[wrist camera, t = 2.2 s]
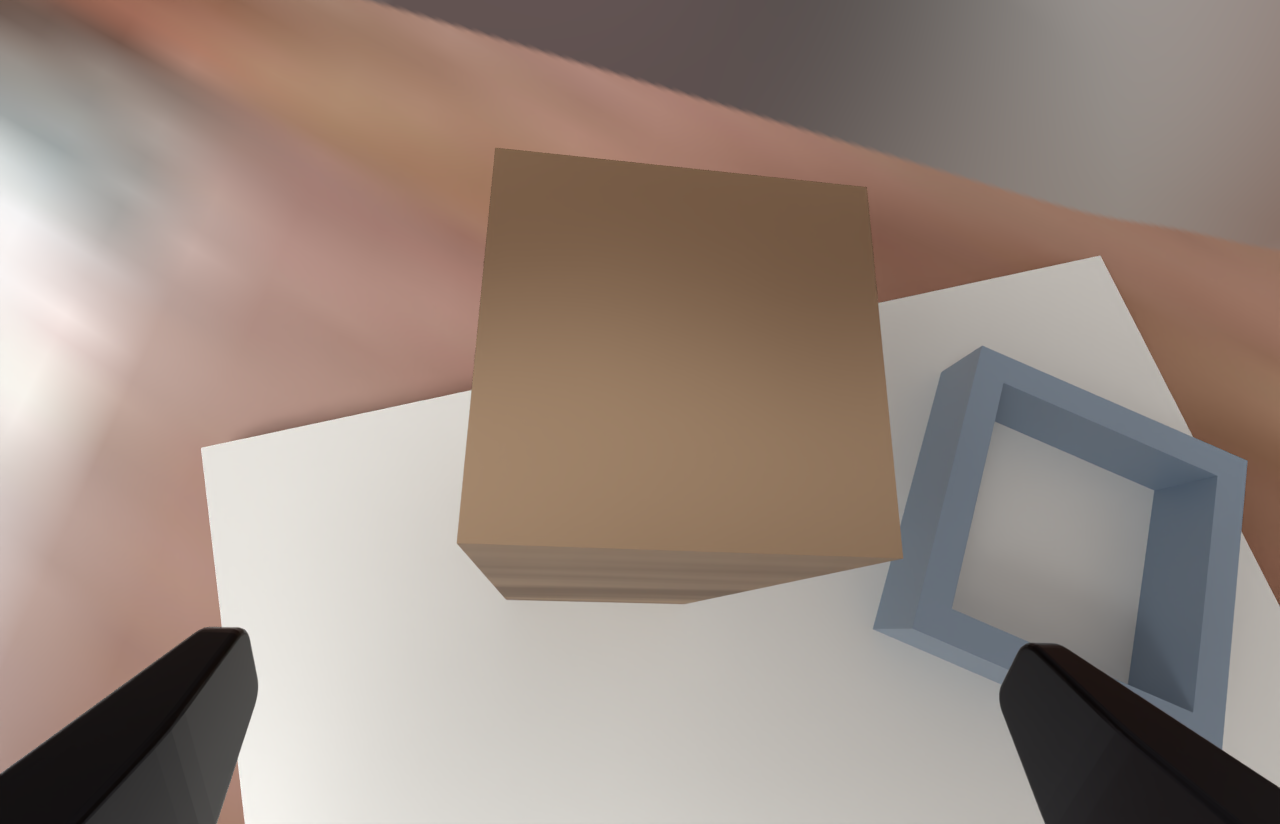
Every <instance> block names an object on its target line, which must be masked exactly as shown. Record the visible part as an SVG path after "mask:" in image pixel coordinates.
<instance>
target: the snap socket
mask: <svg viewBox="0 0 1280 824" xmlns="http://www.w3.org/2000/svg"><path fill="white" fill-rule="evenodd" d="M995 422H997V423H999V424H1002V425H1004V426H1006V427H1009V428H1011V429H1013V430H1016V431H1018V432H1020V433H1023V434H1025V435H1027V436H1029V437H1032V438H1034V439H1036V440H1039V441H1041V442H1043V443H1046V444H1048V445H1050V446H1053V447H1055V448H1057V449H1059V450H1062V451H1064V452H1066V453H1069V454H1071V455H1073V456H1076V457H1078V458H1080V459H1082V460H1085V461H1087V462H1089V463H1092V464H1094V465H1096V466H1099V467H1101V468H1103V469H1106V470H1108V471H1110V472H1112V473H1115V474H1117V475H1119V476H1122V477H1124V478H1126V479H1129V480H1131V481H1133V482H1136V483H1138V484H1140V485H1142V486H1145V487H1147V488H1149V489H1152V490H1154V496H1153V503H1152V511H1151V518H1150V525H1149V533H1148V540H1147V547H1146V555H1145V562H1144V569H1143V577H1142V584H1141V591H1140V599H1139V606H1138V613H1137V621H1136V628H1135V636H1134V643H1133V650H1132V658H1131V665H1130V672H1129V680H1128V684H1125V683H1123V682H1121V681H1118V680H1116V679H1115V680H1116V681H1118V682H1119V683H1121V684H1122V685H1124V686H1125V687H1127V688H1128V689H1130V690H1131V691H1133V692H1134V693H1136V694H1138V695H1139V696H1141V697H1142V698H1144V699H1145V700H1147V701H1148V702H1150V703H1151V704H1153V705H1154V706H1156V707H1157V708H1159V709H1160V710H1162V711H1164V712H1165V713H1167V714H1168V715H1170V716H1171V717H1173V718H1174V719H1176V720H1177V721H1179V722H1180V723H1182V724H1183V725H1185V726H1186V727H1188V728H1189V729H1191V730H1193V731H1194V732H1196V733H1197V734H1199V735H1200V736H1202V737H1203V738H1205V739H1206V740H1208V741H1209V742H1211V743H1212V744H1214V745H1215V746H1217V747H1219V748H1220V749H1222V746H1223V734H1224V723H1225V711H1226V700H1227V689H1228V677H1229V666H1230V654H1231V643H1232V632H1233V620H1234V609H1235V598H1236V586H1237V575H1238V563H1239V552H1240V541H1241V529H1242V518H1243V507H1244V495H1245V484H1246V472H1247V460H1244V459H1242V458H1240V457H1238V456H1235V455H1233V454H1231V453H1228V452H1226V451H1224V450H1221V449H1219V448H1217V447H1215V446H1212V445H1210V444H1208V443H1205V442H1203V441H1201V440H1198V439H1196V438H1194V437H1192V436H1189V435H1187V434H1185V433H1182V432H1180V431H1178V430H1175V429H1173V428H1171V427H1169V426H1166V425H1164V424H1162V423H1159V422H1157V421H1155V420H1152V419H1150V418H1148V417H1146V416H1143V415H1141V414H1139V413H1136V412H1134V411H1132V410H1129V409H1127V408H1125V407H1123V406H1120V405H1118V404H1116V403H1113V402H1111V401H1109V400H1106V399H1104V398H1102V397H1100V396H1097V395H1095V394H1093V393H1090V392H1088V391H1086V390H1083V389H1081V388H1079V387H1077V386H1074V385H1072V384H1070V383H1067V382H1065V381H1063V380H1060V379H1058V378H1056V377H1053V376H1051V375H1049V374H1047V373H1044V372H1042V371H1040V370H1037V369H1035V368H1033V367H1030V366H1028V365H1026V364H1024V363H1021V362H1019V361H1017V360H1014V359H1012V358H1010V357H1007V356H1005V355H1003V354H1001V353H998V352H996V351H994V350H991V349H989V348H987V347H984V346H981V347H979V348H978V349H976V350H975V351H973V352H971V353H970V354H968V355H967V356H965V357H964V358H962V359H961V360H959V361H958V362H956V363H955V364H953V365H951V366H950V367H948V368H947V369H945V370H944V371H942V372H941V375H940V378H939V382H938V386H937V390H936V393H935V397H934V401H933V405H932V408H931V412H930V416H929V420H928V423H927V427H926V431H925V435H924V438H923V442H922V446H921V450H920V453H919V457H918V461H917V465H916V468H915V472H914V476H913V480H912V483H911V487H910V491H909V495H908V498H907V502H906V506H905V510H904V513H903V517H902V521H901V525H900V530H901V541H902V551H903V559H899V560H894V561H891V562H890V566H889V570H888V574H887V577H886V581H885V585H884V589H883V592H882V596H881V600H880V604H879V607H878V611H877V615H876V619H875V622H874V626H873V630H876V631H878V632H880V633H883V634H885V635H887V636H890V637H892V638H894V639H897V640H899V641H901V642H904V643H906V644H908V645H911V646H913V647H915V648H918V649H920V650H922V651H925V652H927V653H929V654H932V655H934V656H936V657H939V658H941V659H943V660H946V661H948V662H950V663H952V664H955V665H957V666H959V667H962V668H964V669H966V670H969V671H971V672H973V673H976V674H978V675H980V676H983V677H985V678H987V679H990V680H992V681H994V682H997V683H999V684H1002V682H1003V680H1004V678H1005V676H1006V674H1007V672H1008V670H1009V668H1010V666H1011V664H1012V662H1013V660H1014V658H1015V656H1016V654H1017V652H1018V650H1019V649H1020V648H1021V647H1022V646H1023V645H1025V644H1026V643H1030V642H1028V641H1026V640H1023V639H1021V638H1019V637H1016V636H1014V635H1012V634H1009V633H1007V632H1005V631H1002V630H1000V629H998V628H995V627H993V626H991V625H988V624H986V623H984V622H981V621H979V620H977V619H974V618H972V617H970V616H967V615H965V614H963V613H961V612H958V611H956V610H954V609H952V606H953V601H954V597H955V593H956V588H957V584H958V580H959V575H960V571H961V567H962V562H963V558H964V553H965V549H966V545H967V540H968V536H969V532H970V527H971V523H972V519H973V514H974V510H975V506H976V501H977V497H978V492H979V488H980V484H981V479H982V475H983V471H984V466H985V462H986V458H987V453H988V449H989V445H990V440H991V436H992V431H993V427H994V423H995ZM1113 679H1114V678H1113Z"/></svg>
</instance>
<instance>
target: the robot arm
mask: <svg viewBox="0 0 1280 824" xmlns="http://www.w3.org/2000/svg"><path fill="white" fill-rule="evenodd" d="M257 695H258V677H257V672H256V667H255V662H254V657H253V652H252V647H251V642H250V637H249V635H248V633H247V631H246V630H245V629H243V628H240V627H206V628H203V629H200V630H198V631H197V632H195V633H194V634H192V635H191V636H190V637H188V638H187V639H185V640H184V641H183V642H181V643H180V644H179V645H177V646H176V647H174V648H173V649H172V650H170V651H169V652H167V653H166V654H165V655H163V656H162V657H161V658H159V659H158V660H156V661H155V662H154V663H152V664H151V665H150V666H148V667H147V668H145V669H144V670H143V671H141V672H140V673H139V674H137V675H136V676H134V677H133V678H132V679H130V680H129V681H128V682H126V683H125V684H123V685H122V686H121V687H119V688H118V689H116V690H115V691H114V692H112V693H111V694H110V695H108V696H107V697H105V698H104V699H103V700H101V701H100V702H99V703H97V704H96V705H94V706H93V707H92V708H90V709H89V710H88V711H86V712H85V713H83V714H82V715H81V716H79V717H78V718H76V719H75V720H74V721H72V722H71V723H70V724H68V725H67V726H65V727H64V728H63V729H61V730H60V731H59V732H57V733H56V734H54V735H53V736H52V737H50V738H49V739H48V740H46V741H45V742H43V743H42V744H41V745H39V746H38V747H37V748H35V749H34V750H32V751H31V752H30V753H28V754H27V755H25V756H24V757H23V758H21V759H20V760H19V761H17V762H16V763H14V764H13V765H12V766H10V767H9V768H8V769H6V770H5V771H3V772H2V773H1V774H0V824H217V821H218V818H219V815H220V812H221V809H222V806H223V803H224V800H225V796H226V793H227V790H228V787H229V784H230V781H231V778H232V775H233V772H234V769H235V766H236V763H237V760H238V757H239V753H240V750H241V747H242V744H243V741H244V738H245V735H246V732H247V729H248V726H249V723H250V720H251V717H252V713H253V710H254V707H255V704H256V700H257ZM999 702H1000V708H1001V711H1002V714H1003V716H1004V719H1005V721H1006V724H1007V727H1008V729H1009V732H1010V735H1011V737H1012V740H1013V742H1014V745H1015V748H1016V750H1017V753H1018V755H1019V758H1020V761H1021V763H1022V766H1023V769H1024V771H1025V774H1026V776H1027V779H1028V782H1029V784H1030V787H1031V789H1032V792H1033V795H1034V797H1035V800H1036V803H1037V805H1038V808H1039V810H1040V813H1041V816H1042V818H1043V820H1044V823H1045V824H1280V787H1278V786H1277V785H1275V784H1274V783H1272V782H1271V781H1269V780H1267V779H1266V778H1264V777H1263V776H1261V775H1260V774H1258V773H1257V772H1255V771H1254V770H1252V769H1251V768H1249V767H1248V766H1246V765H1245V764H1243V763H1241V762H1240V761H1238V760H1237V759H1235V758H1234V757H1232V756H1231V755H1229V754H1228V753H1226V752H1225V751H1223V750H1222V749H1220V748H1219V747H1217V746H1215V745H1214V744H1212V743H1211V742H1209V741H1208V740H1206V739H1205V738H1203V737H1202V736H1200V735H1199V734H1197V733H1196V732H1194V731H1193V730H1191V729H1189V728H1188V727H1186V726H1185V725H1183V724H1182V723H1180V722H1179V721H1177V720H1176V719H1174V718H1173V717H1171V716H1170V715H1168V714H1167V713H1165V712H1164V711H1162V710H1160V709H1159V708H1157V707H1156V706H1154V705H1153V704H1151V703H1150V702H1148V701H1147V700H1145V699H1144V698H1142V697H1141V696H1139V695H1138V694H1136V693H1134V692H1133V691H1131V690H1130V689H1128V688H1127V687H1125V686H1124V685H1122V684H1121V683H1119V682H1118V681H1116V680H1115V679H1113V678H1112V677H1110V676H1108V675H1107V674H1105V673H1104V672H1102V671H1101V670H1099V669H1098V668H1096V667H1095V666H1093V665H1092V664H1090V663H1089V662H1087V661H1086V660H1084V659H1083V658H1081V657H1079V656H1078V655H1076V654H1075V653H1073V652H1072V651H1070V650H1069V649H1067V648H1066V647H1064V646H1062V645H1059V644H1055V643H1026V644H1025V645H1023V646H1022V647H1021V648H1020V649H1019V650H1018V652H1017V654H1016V656H1015V658H1014V660H1013V662H1012V664H1011V666H1010V668H1009V670H1008V672H1007V674H1006V676H1005V678H1004V680H1003V682H1002V684H1001V687H1000V691H999Z"/></svg>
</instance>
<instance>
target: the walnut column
mask: <svg viewBox="0 0 1280 824" xmlns="http://www.w3.org/2000/svg"><path fill="white" fill-rule="evenodd" d="M457 544H458V545H459V547H460V548H461V549H462V550H463V551H464V552H465V553H466V555H467V556H468V557H469V558H470V559H471V560H472V561H473V563H474V564H475V565H476V566H477V567H478V568H479V569H480V571H481V572H482V573H483V574H484V575H485V576H486V577H487V579H488V580H489V581H490V582H491V583H492V584H493V585H494V587H495V588H496V589H497V590H498V591H499V592H500V593H501V594H502V596H503V597H504V598H505V599H506V600H531V601H572V602H614V603H655V604H688V603H693V602H698V601H702V600H707V599H712V598H717V597H721V596H726V595H731V594H736V593H741V592H745V591H750V590H755V589H760V588H765V587H769V586H774V585H779V584H784V583H788V582H793V581H798V580H803V579H808V578H812V577H817V576H822V575H827V574H832V573H836V572H841V571H846V570H851V569H855V568H860V567H865V566H870V565H875V564H879V563H884V562H889V561H894V560H899V559H903V551H902V541H901V530H900V520H899V510H898V500H897V490H896V480H895V469H894V459H893V449H892V439H891V429H890V419H889V409H888V398H887V388H886V378H885V368H884V358H883V348H882V337H881V327H880V317H879V307H878V297H877V287H876V276H875V266H874V256H873V246H872V236H871V226H870V215H869V205H868V195H867V187H860V186H851V185H841V184H832V183H822V182H813V181H804V180H794V179H785V178H775V177H766V176H757V175H747V174H738V173H728V172H719V171H709V170H700V169H691V168H681V167H672V166H662V165H653V164H644V163H634V162H625V161H615V160H606V159H597V158H587V157H578V156H568V155H559V154H550V153H540V152H531V151H521V150H512V149H503V148H495V155H494V166H493V176H492V186H491V196H490V207H489V217H488V227H487V237H486V247H485V258H484V268H483V278H482V288H481V299H480V309H479V319H478V329H477V339H476V350H475V360H474V370H473V380H472V391H471V401H470V411H469V421H468V431H467V442H466V452H465V462H464V472H463V483H462V493H461V503H460V513H459V523H458V534H457Z"/></svg>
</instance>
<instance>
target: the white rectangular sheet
mask: <svg viewBox="0 0 1280 824" xmlns="http://www.w3.org/2000/svg"><path fill="white" fill-rule="evenodd" d="M878 307H879V317H880V327H881V337H882V348H883V358H884V368H885V378H886V388H887V398H888V409H889V419H890V429H891V439H892V449H893V459H894V469H895V480H896V490H897V500H898V510H899V520H900V525H901V521H902V517H903V513H904V510H905V506H906V502H907V498H908V495H909V491H910V487H911V483H912V480H913V476H914V472H915V468H916V465H917V461H918V457H919V453H920V450H921V446H922V442H923V438H924V435H925V431H926V427H927V423H928V420H929V416H930V412H931V408H932V405H933V401H934V397H935V393H936V390H937V386H938V382H939V378H940V375H941V372H942V371H944V370H945V369H947V368H948V367H950V366H951V365H953V364H955V363H956V362H958V361H959V360H961V359H962V358H964V357H965V356H967V355H968V354H970V353H971V352H973V351H975V350H976V349H978V348H979V347H981V346H984V347H987V348H989V349H991V350H994V351H996V352H998V353H1001V354H1003V355H1005V356H1007V357H1010V358H1012V359H1014V360H1017V361H1019V362H1021V363H1024V364H1026V365H1028V366H1030V367H1033V368H1035V369H1037V370H1040V371H1042V372H1044V373H1047V374H1049V375H1051V376H1053V377H1056V378H1058V379H1060V380H1063V381H1065V382H1067V383H1070V384H1072V385H1074V386H1077V387H1079V388H1081V389H1083V390H1086V391H1088V392H1090V393H1093V394H1095V395H1097V396H1100V397H1102V398H1104V399H1106V400H1109V401H1111V402H1113V403H1116V404H1118V405H1120V406H1123V407H1125V408H1127V409H1129V410H1132V411H1134V412H1136V413H1139V414H1141V415H1143V416H1146V417H1148V418H1150V419H1152V420H1155V421H1157V422H1159V423H1162V424H1164V425H1166V426H1169V427H1171V428H1173V429H1175V430H1178V431H1180V432H1182V433H1185V434H1187V435H1189V436H1192V434H1191V432H1190V430H1189V428H1188V426H1187V424H1186V422H1185V420H1184V418H1183V416H1182V414H1181V412H1180V411H1179V409H1178V407H1177V405H1176V403H1175V401H1174V399H1173V397H1172V395H1171V393H1170V391H1169V389H1168V387H1167V385H1166V383H1165V381H1164V379H1163V377H1162V375H1161V373H1160V371H1159V369H1158V368H1157V366H1156V364H1155V362H1154V360H1153V358H1152V356H1151V354H1150V352H1149V350H1148V348H1147V346H1146V344H1145V342H1144V340H1143V338H1142V336H1141V334H1140V332H1139V330H1138V328H1137V326H1136V324H1135V323H1134V321H1133V319H1132V317H1131V315H1130V313H1129V311H1128V309H1127V307H1126V305H1125V303H1124V301H1123V299H1122V297H1121V295H1120V293H1119V291H1118V289H1117V287H1116V285H1115V283H1114V281H1113V279H1112V278H1111V276H1110V274H1109V272H1108V270H1107V268H1106V266H1105V264H1104V262H1103V260H1102V258H1101V256H1096V257H1091V258H1087V259H1082V260H1077V261H1073V262H1068V263H1063V264H1059V265H1054V266H1049V267H1045V268H1040V269H1035V270H1031V271H1026V272H1021V273H1017V274H1012V275H1007V276H1003V277H998V278H993V279H989V280H984V281H979V282H975V283H970V284H965V285H961V286H956V287H951V288H947V289H942V290H937V291H932V292H928V293H923V294H918V295H914V296H909V297H904V298H900V299H895V300H890V301H886V302H881V303H878ZM471 391H472V390H470V391H465V392H460V393H456V394H451V395H446V396H442V397H437V398H432V399H428V400H423V401H418V402H414V403H409V404H404V405H400V406H395V407H390V408H385V409H381V410H376V411H371V412H367V413H362V414H357V415H353V416H348V417H343V418H339V419H334V420H329V421H325V422H320V423H315V424H311V425H306V426H301V427H297V428H292V429H287V430H283V431H278V432H273V433H269V434H264V435H259V436H255V437H250V438H245V439H241V440H236V441H231V442H227V443H222V444H217V445H212V446H208V447H203V448H201V452H202V460H203V469H204V477H205V486H206V494H207V503H208V512H209V520H210V529H211V537H212V546H213V554H214V563H215V571H216V580H217V588H218V597H219V606H220V614H221V623H222V627H240V628H243V629H245V630H246V631H247V633H248V635H249V637H250V642H251V647H252V652H253V657H254V662H255V667H256V672H257V677H258V695H257V700H256V704H255V707H254V710H253V713H252V717H251V720H250V723H249V726H248V729H247V732H246V735H245V738H244V741H243V744H242V747H241V750H240V753H239V757H238V768H239V777H240V785H241V794H242V802H243V811H244V819H245V824H1045V823H1044V820H1043V818H1042V816H1041V813H1040V810H1039V808H1038V805H1037V803H1036V800H1035V797H1034V795H1033V792H1032V789H1031V787H1030V784H1029V782H1028V779H1027V776H1026V774H1025V771H1024V769H1023V766H1022V763H1021V761H1020V758H1019V755H1018V753H1017V750H1016V748H1015V745H1014V742H1013V740H1012V737H1011V735H1010V732H1009V729H1008V727H1007V724H1006V721H1005V719H1004V716H1003V714H1002V711H1001V708H1000V702H999V691H1000V687H1001V684H999V683H997V682H994V681H992V680H990V679H987V678H985V677H983V676H980V675H978V674H976V673H973V672H971V671H969V670H966V669H964V668H962V667H959V666H957V665H955V664H952V663H950V662H948V661H946V660H943V659H941V658H939V657H936V656H934V655H932V654H929V653H927V652H925V651H922V650H920V649H918V648H915V647H913V646H911V645H908V644H906V643H904V642H901V641H899V640H897V639H894V638H892V637H890V636H887V635H885V634H883V633H880V632H878V631H876V630H873V626H874V622H875V619H876V615H877V611H878V607H879V604H880V600H881V596H882V592H883V589H884V585H885V581H886V577H887V574H888V570H889V566H890V562H891V561H889V562H884V563H879V564H875V565H870V566H865V567H860V568H855V569H851V570H846V571H841V572H836V573H832V574H827V575H822V576H817V577H812V578H808V579H803V580H798V581H793V582H788V583H784V584H779V585H774V586H769V587H765V588H760V589H755V590H750V591H745V592H741V593H736V594H731V595H726V596H721V597H717V598H712V599H707V600H702V601H698V602H693V603H688V604H655V603H614V602H572V601H531V600H506V599H505V598H504V597H503V596H502V594H501V593H500V592H499V591H498V590H497V589H496V588H495V587H494V585H493V584H492V583H491V582H490V581H489V580H488V579H487V577H486V576H485V575H484V574H483V573H482V572H481V571H480V569H479V568H478V567H477V566H476V565H475V564H474V563H473V561H472V560H471V559H470V558H469V557H468V556H467V555H466V553H465V552H464V551H463V550H462V549H461V548H460V547H459V545H458V544H457V534H458V523H459V513H460V503H461V493H462V483H463V472H464V462H465V452H466V442H467V431H468V421H469V411H470V401H471ZM1192 437H1193V436H1192ZM1153 496H1154V490H1152V489H1149V488H1147V487H1145V486H1142V485H1140V484H1138V483H1136V482H1133V481H1131V480H1129V479H1126V478H1124V477H1122V476H1119V475H1117V474H1115V473H1112V472H1110V471H1108V470H1106V469H1103V468H1101V467H1099V466H1096V465H1094V464H1092V463H1089V462H1087V461H1085V460H1082V459H1080V458H1078V457H1076V456H1073V455H1071V454H1069V453H1066V452H1064V451H1062V450H1059V449H1057V448H1055V447H1053V446H1050V445H1048V444H1046V443H1043V442H1041V441H1039V440H1036V439H1034V438H1032V437H1029V436H1027V435H1025V434H1023V433H1020V432H1018V431H1016V430H1013V429H1011V428H1009V427H1006V426H1004V425H1002V424H999V423H997V422H995V423H994V427H993V431H992V436H991V440H990V445H989V449H988V453H987V458H986V462H985V466H984V471H983V475H982V479H981V484H980V488H979V492H978V497H977V501H976V506H975V510H974V514H973V519H972V523H971V527H970V532H969V536H968V540H967V545H966V549H965V553H964V558H963V562H962V567H961V571H960V575H959V580H958V584H957V588H956V593H955V597H954V601H953V606H952V609H954V610H956V611H958V612H961V613H963V614H965V615H967V616H970V617H972V618H974V619H977V620H979V621H981V622H984V623H986V624H988V625H991V626H993V627H995V628H998V629H1000V630H1002V631H1005V632H1007V633H1009V634H1012V635H1014V636H1016V637H1019V638H1021V639H1023V640H1026V641H1028V642H1030V643H1055V644H1059V645H1062V646H1064V647H1066V648H1067V649H1069V650H1070V651H1072V652H1073V653H1075V654H1076V655H1078V656H1079V657H1081V658H1083V659H1084V660H1086V661H1087V662H1089V663H1090V664H1092V665H1093V666H1095V667H1096V668H1098V669H1099V670H1101V671H1102V672H1104V673H1105V674H1107V675H1108V676H1110V677H1112V678H1114V679H1116V680H1118V681H1121V682H1123V683H1125V684H1128V680H1129V672H1130V665H1131V658H1132V650H1133V643H1134V636H1135V628H1136V621H1137V613H1138V606H1139V599H1140V591H1141V584H1142V577H1143V569H1144V562H1145V555H1146V547H1147V540H1148V533H1149V525H1150V518H1151V511H1152V503H1153ZM1222 750H1223V751H1225V752H1226V753H1228V754H1229V755H1231V756H1232V757H1234V758H1235V759H1237V760H1238V761H1240V762H1241V763H1243V764H1245V765H1246V766H1248V767H1249V768H1251V769H1252V770H1254V771H1255V772H1257V773H1258V774H1260V775H1261V776H1263V777H1264V778H1266V779H1267V780H1269V781H1271V782H1272V783H1274V784H1275V785H1277V786H1278V787H1280V606H1279V604H1278V602H1277V600H1276V598H1275V596H1274V594H1273V592H1272V591H1271V589H1270V587H1269V585H1268V583H1267V581H1266V579H1265V577H1264V575H1263V573H1262V571H1261V569H1260V567H1259V565H1258V563H1257V561H1256V559H1255V557H1254V555H1253V553H1252V551H1251V549H1250V547H1249V546H1248V544H1247V542H1246V540H1245V538H1244V536H1243V534H1242V532H1241V541H1240V552H1239V563H1238V575H1237V586H1236V598H1235V609H1234V620H1233V632H1232V643H1231V654H1230V666H1229V677H1228V689H1227V700H1226V711H1225V723H1224V734H1223V746H1222Z"/></svg>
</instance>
